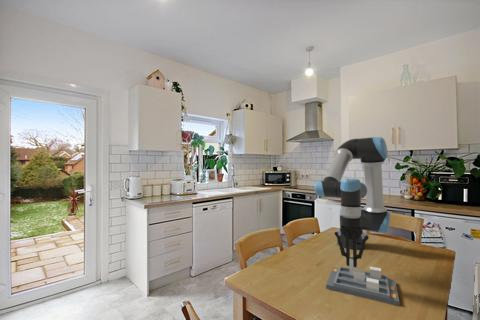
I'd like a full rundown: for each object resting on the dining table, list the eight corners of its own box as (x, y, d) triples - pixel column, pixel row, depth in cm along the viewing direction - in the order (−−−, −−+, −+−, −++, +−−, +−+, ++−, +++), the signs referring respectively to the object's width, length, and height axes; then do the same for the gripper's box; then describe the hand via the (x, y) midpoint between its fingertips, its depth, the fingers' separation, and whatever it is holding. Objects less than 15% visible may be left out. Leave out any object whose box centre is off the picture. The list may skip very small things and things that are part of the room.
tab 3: (366, 288, 90) (366, 277, 90) (378, 290, 88) (378, 279, 88) (366, 291, 88) (366, 280, 88) (378, 294, 86) (378, 283, 86)
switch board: (333, 270, 109) (332, 264, 109) (395, 283, 97) (395, 276, 97) (326, 288, 93) (326, 281, 93) (399, 306, 81) (399, 298, 81)
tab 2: (370, 275, 100) (369, 266, 100) (381, 278, 98) (380, 268, 98) (369, 278, 98) (369, 269, 98) (381, 281, 96) (381, 271, 96)
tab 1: (354, 278, 98) (353, 268, 98) (365, 280, 96) (364, 271, 96) (353, 281, 95) (353, 271, 95) (364, 284, 93) (364, 273, 93)
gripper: (332, 216, 97) (333, 274, 97) (368, 219, 91) (369, 281, 90) (335, 213, 104) (336, 267, 103) (369, 216, 97) (370, 274, 97)
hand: (351, 274), depth 97 cm, fingers closed
